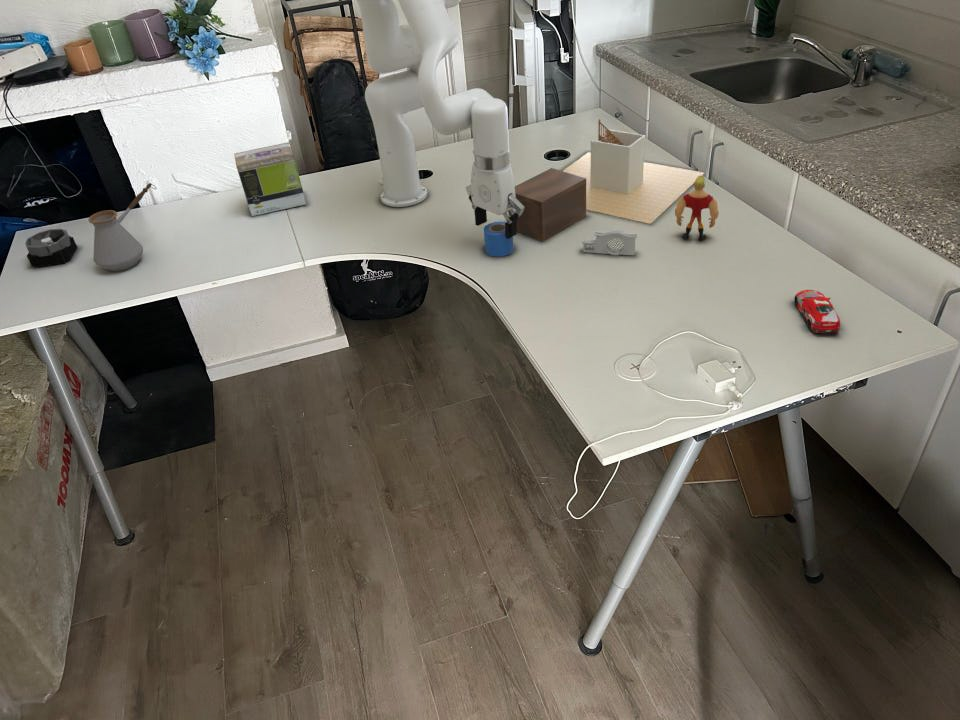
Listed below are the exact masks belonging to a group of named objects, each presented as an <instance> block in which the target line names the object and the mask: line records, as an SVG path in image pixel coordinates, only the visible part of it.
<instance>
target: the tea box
mask: <svg viewBox="0 0 960 720" xmlns="http://www.w3.org/2000/svg"><path fill="white" fill-rule="evenodd" d="M233 155H234V161H235V167H236V170H237V174H238V177H239V181H240V183H241V186H242V190H243V194H244V196H245V199H246V202H247V206H248V208H249V212H250V215H251V216H252V217H255V216H260V215H265V214H268V213H269V214H270V213H273V212H278V211H282V210H286V209H291V208H295V207H300V206H304V205H307V201H306V197H305V193H304V189H303V186H302V182H301V179H300V178H301V177H300V174H299V170H298V166H297V162H296V159H295V155H294V152H293V150H292V148H291V145H290V142H283V143H278V144H273V145H269V146H264V147H259V148H255V149H249V150H245V151H240V152H235V153H234V154H233Z"/></svg>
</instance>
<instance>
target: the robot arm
mask: <svg viewBox="0 0 960 720" xmlns="http://www.w3.org/2000/svg"><path fill="white" fill-rule="evenodd" d="M397 1H398V3H399V6H400V7H401V10H402V12H403V15H404V17H405V19H406V21H407V23H403V24H400V18H399V11H398V7H397V5H396V3H395V2H394V0H356V3H357V5H358V8H359V11H360V16H361V24H362V32H363V40H364V48H365V54H366V60H367V64H368V66H369V68H370V69H371V71H372V72H374V73H376V74H381V75H382V74H389V73H392V74H389V75H384V76H382V77H379V78H376V79H374V80H373V81H371V82H370V83H368V85H367V86H366V88H365V91H364V99H365V103H366V106H367V109H368V113H369V115H370V117H371V121H372V124H373V129H374V134H375V140H376V145H377V150H378V157H379V162H380V167H381V173H382V178H381V179H379V180H378V184H379V185H381V186H382V187H383V191H382V192H381V194H380V201H381V203H382V204H383V205H385V206H388V207H392V208H393V207H394V208H407V207H411V206H415V205H418V204H420V203H422V202H423V201H424V200H425V199H426V198H428V190H427V188H426V187H425V186H423V185H421V179H420V173H419V165H418V160H417V158H418V157H417V151H416V145H415V144H416V143H415V137H414V132H413V129H412V127H411V125H410V124H409V123H408V122H407V121H406V120H405V119H404V118H403V115H405V114H407V113H410V112H413V111H416V110H419V109H422V108H423V109H424V111H425V114H426V115H427V118H428V120H429V122H430V124H431V125H432V127H433V128H434V130H435V131H436V132H437V133H439V135H443V136H451V135H455V134H457V133H460V132H464V131H467V130H469V129H472V130H471V131H472V143H473V149H472V153H473V157H474V162H473V163H472V167H471V172H470V173H471V174H470V184H469V185H467V186H465V190H466V193H467V196H468V200H469V201H470V203H471V208H472V209H473V210H474V223H475V226H477V227H479V226H481V225H482V224H484V223H487V222H488V215H487V211H488V212H490V213H492V214H494V215H498V216H503V217H504V219H505V222H506V223H505V237H506V238H507V239H509V238H511V237H513V238H514V237H515V236H517V234H518V232H517V220H518V219H519V218H520V217H521V216H522V213H523V211H524V206H523V205H522V204H521V203H520V202H519V201H518V200H517V199H516V196H515V186H516V185H515V180H514V179H515V177H514V174H513V169H512V166H511V164H510V161H511V160H510V140H509V139H510V138H509V136H510V135H509V116H508V106H507V103H506V102H505V101H504V100H503V99H500V98H496V97H493V96H492V95H491V94H490V93H489V92H487V90H485V89H483V88H479V87H475V88H471V89H467V90H465V91H461V92H458V93H455V94H452V95H448V96H445V97H444V96H443V95H442V92H441V90H440V88H439V85H438V82H437V69H438V65H439V63H440V62H441V61H442V60H443V59H444V58H445V57H447V55H449V54H450V53H451V52H452V51H453V50H454V49H455V48H456V47H457V45H458V43H459V35H458V33H457V30H456V29H455V27H454V23H453V21H452V19H451V16H450V15H449V13H448V9H451V8H454V7H456V6H458V5H459V4H460V3H461V2H462V0H397ZM403 69H405V70H404V71H400V70H403ZM396 71H400V72H397V73H393V72H396ZM514 208H515V209H514ZM508 211H510V212H511V214H512V216H511V217H510V216H509V214H508Z"/></svg>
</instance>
